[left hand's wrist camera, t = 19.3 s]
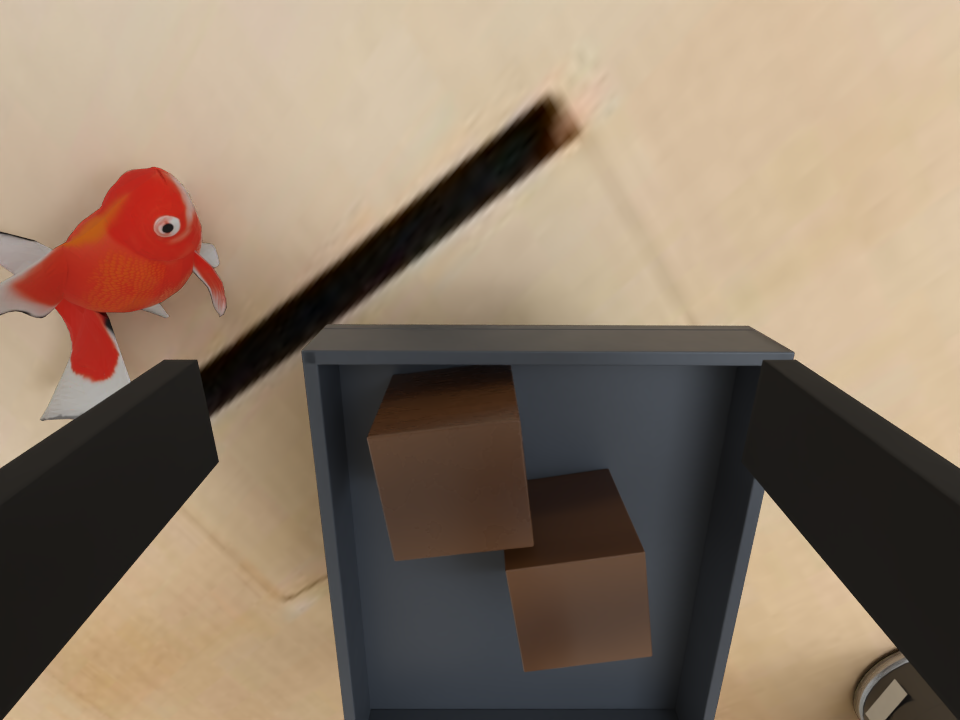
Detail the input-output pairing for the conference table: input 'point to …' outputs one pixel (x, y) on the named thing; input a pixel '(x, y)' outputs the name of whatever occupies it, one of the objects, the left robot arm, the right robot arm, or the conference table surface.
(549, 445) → the tray
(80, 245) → the fish
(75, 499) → the left robot arm
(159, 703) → the conference table surface
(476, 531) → the block
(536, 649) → the block
